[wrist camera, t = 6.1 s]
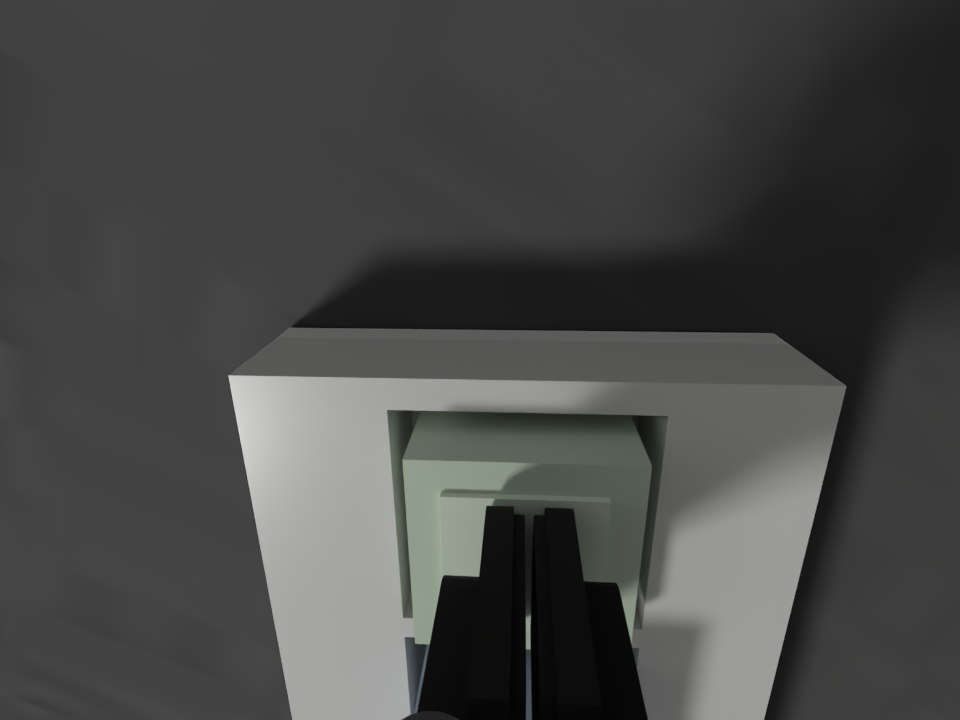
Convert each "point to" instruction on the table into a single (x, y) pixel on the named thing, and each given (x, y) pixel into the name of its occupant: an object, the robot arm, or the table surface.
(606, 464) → the key sage
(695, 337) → the keypad
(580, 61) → the table surface
